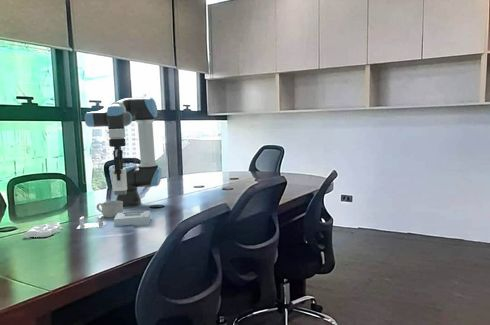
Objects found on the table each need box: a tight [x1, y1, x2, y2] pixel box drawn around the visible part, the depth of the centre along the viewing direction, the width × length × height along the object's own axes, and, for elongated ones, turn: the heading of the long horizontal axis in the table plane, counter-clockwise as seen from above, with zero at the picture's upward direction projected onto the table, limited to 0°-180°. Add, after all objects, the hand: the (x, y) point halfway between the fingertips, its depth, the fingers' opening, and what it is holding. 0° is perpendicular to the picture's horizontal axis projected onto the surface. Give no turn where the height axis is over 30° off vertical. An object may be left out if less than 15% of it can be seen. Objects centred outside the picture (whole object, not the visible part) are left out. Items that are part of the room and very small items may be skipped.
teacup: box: [96, 200, 124, 219], centre depth 209 cm, size 14×11×8 cm
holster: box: [76, 214, 107, 230], centre depth 190 cm, size 10×12×5 cm
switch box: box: [113, 210, 151, 227], centre depth 195 cm, size 14×16×4 cm
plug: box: [111, 169, 127, 196], centre depth 192 cm, size 4×6×12 cm, turn 100°
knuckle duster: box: [22, 222, 64, 239], centre depth 180 cm, size 3×18×15 cm
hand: (120, 186), depth 192 cm, fingers closed on plug, 4 cm apart
